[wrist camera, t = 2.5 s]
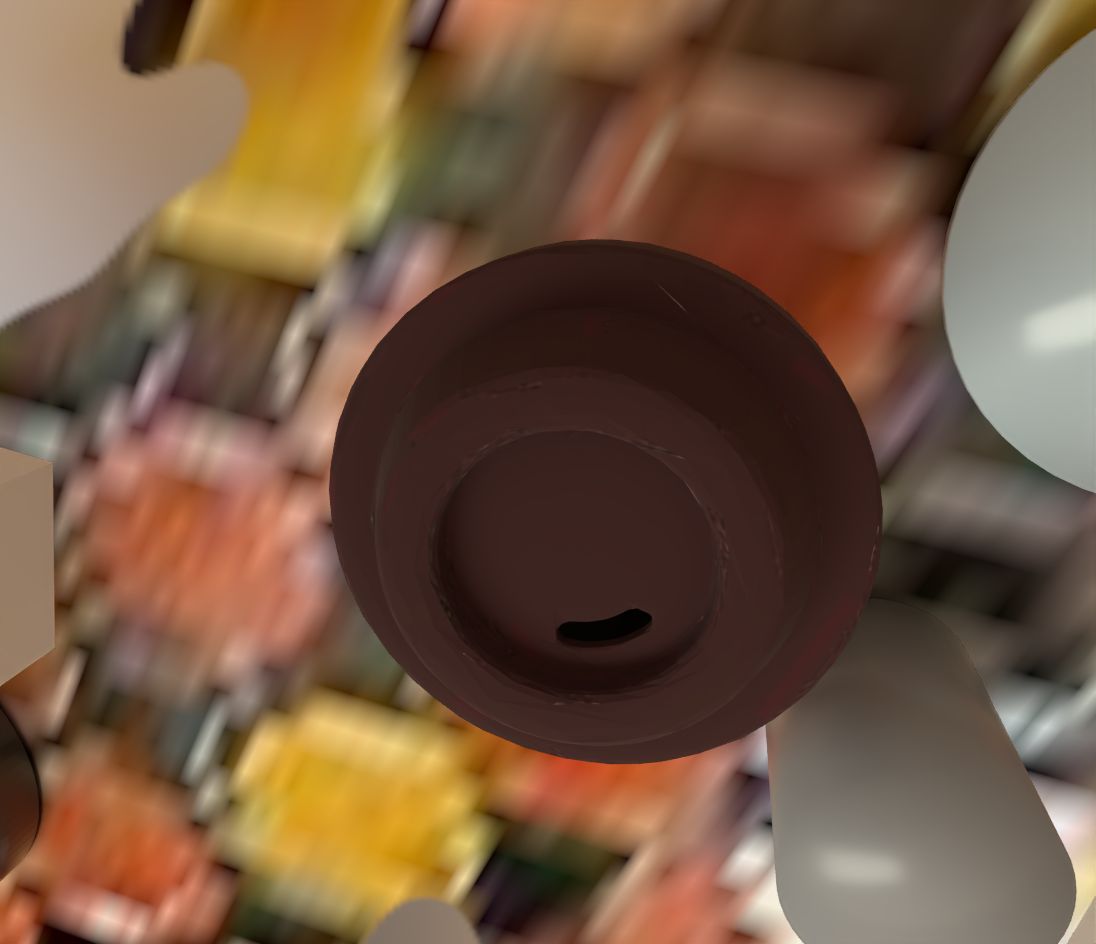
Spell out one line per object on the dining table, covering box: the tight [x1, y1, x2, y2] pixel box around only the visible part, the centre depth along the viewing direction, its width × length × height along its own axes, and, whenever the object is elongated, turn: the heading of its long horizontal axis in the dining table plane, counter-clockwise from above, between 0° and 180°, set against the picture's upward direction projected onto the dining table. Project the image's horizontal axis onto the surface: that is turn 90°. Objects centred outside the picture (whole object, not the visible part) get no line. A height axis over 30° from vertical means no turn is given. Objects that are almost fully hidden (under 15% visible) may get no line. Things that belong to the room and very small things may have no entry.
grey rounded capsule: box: [766, 598, 1076, 944], centre depth 25 cm, size 7×7×9 cm
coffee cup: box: [329, 239, 883, 764], centre depth 20 cm, size 10×10×15 cm
